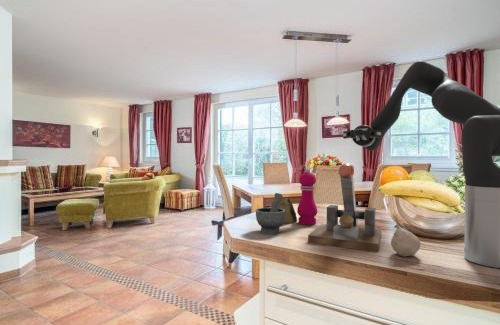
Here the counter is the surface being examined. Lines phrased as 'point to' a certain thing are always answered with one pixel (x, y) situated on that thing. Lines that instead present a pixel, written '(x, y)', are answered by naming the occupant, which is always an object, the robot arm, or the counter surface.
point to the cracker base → (350, 244)
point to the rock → (288, 210)
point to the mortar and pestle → (271, 216)
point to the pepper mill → (307, 199)
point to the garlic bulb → (404, 242)
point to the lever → (349, 194)
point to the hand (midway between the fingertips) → (358, 132)
